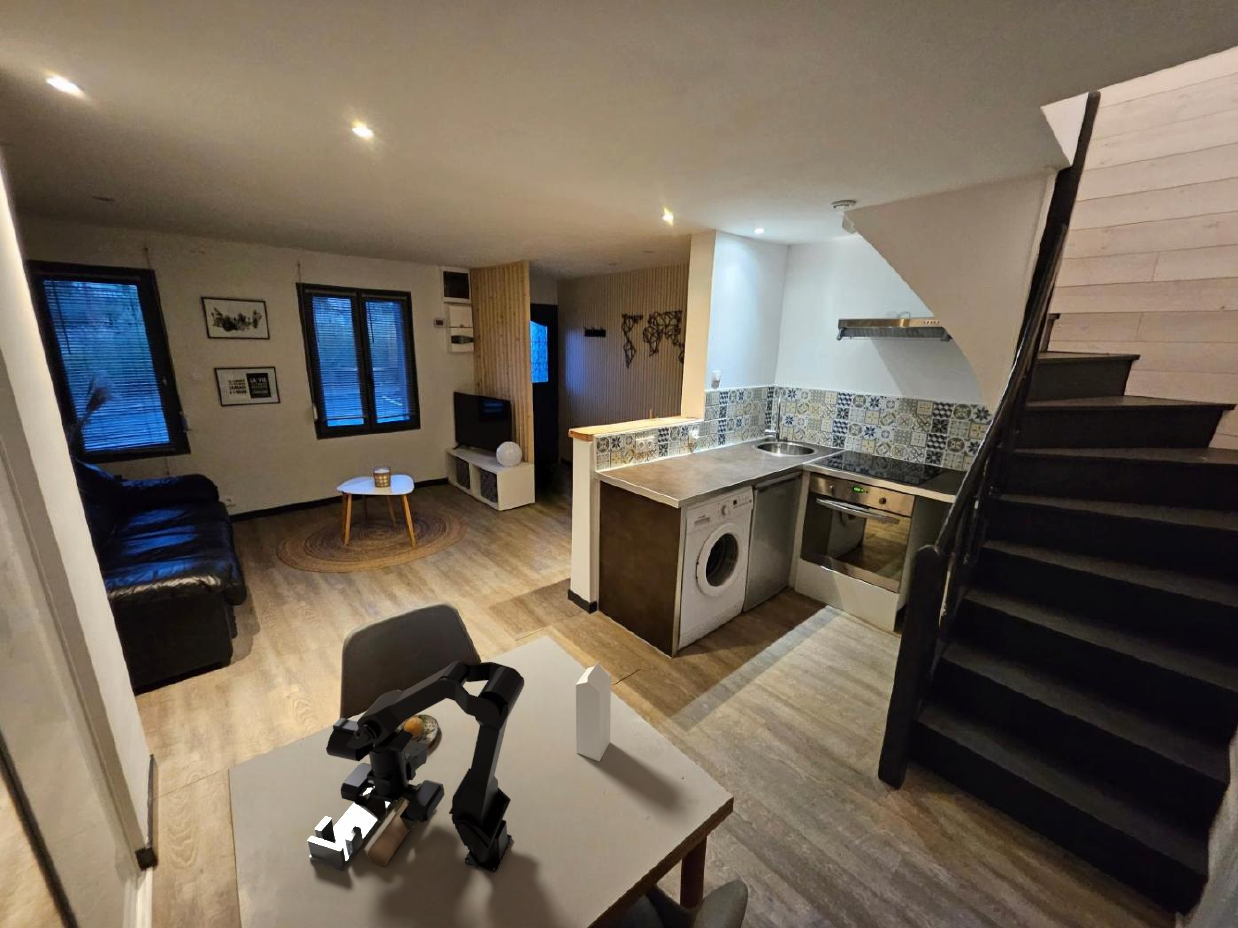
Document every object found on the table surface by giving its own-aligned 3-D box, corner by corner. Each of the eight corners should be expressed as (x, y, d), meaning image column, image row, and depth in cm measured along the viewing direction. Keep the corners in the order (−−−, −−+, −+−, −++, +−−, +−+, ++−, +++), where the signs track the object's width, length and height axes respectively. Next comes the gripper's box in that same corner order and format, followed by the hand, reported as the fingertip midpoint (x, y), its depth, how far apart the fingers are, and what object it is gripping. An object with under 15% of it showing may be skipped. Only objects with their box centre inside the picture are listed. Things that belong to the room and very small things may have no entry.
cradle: (410, 782, 102) (408, 766, 100) (344, 871, 85) (340, 853, 84) (378, 774, 103) (376, 757, 102) (307, 859, 87) (303, 841, 85)
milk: (610, 742, 113) (612, 663, 107) (599, 762, 107) (600, 680, 101) (587, 733, 115) (588, 655, 109) (575, 752, 110) (575, 672, 104)
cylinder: (411, 792, 98) (418, 781, 97) (426, 803, 98) (434, 793, 97) (364, 856, 86) (371, 845, 85) (382, 870, 86) (389, 859, 85)
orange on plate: (431, 712, 121) (429, 688, 119) (446, 744, 112) (443, 718, 110) (380, 734, 114) (376, 709, 112) (391, 770, 105) (387, 743, 103)
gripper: (457, 736, 93) (463, 797, 97) (376, 716, 97) (385, 776, 102) (421, 787, 83) (429, 853, 87) (332, 762, 87) (344, 826, 91)
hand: (397, 824), depth 92 cm, fingers open, 6 cm apart
